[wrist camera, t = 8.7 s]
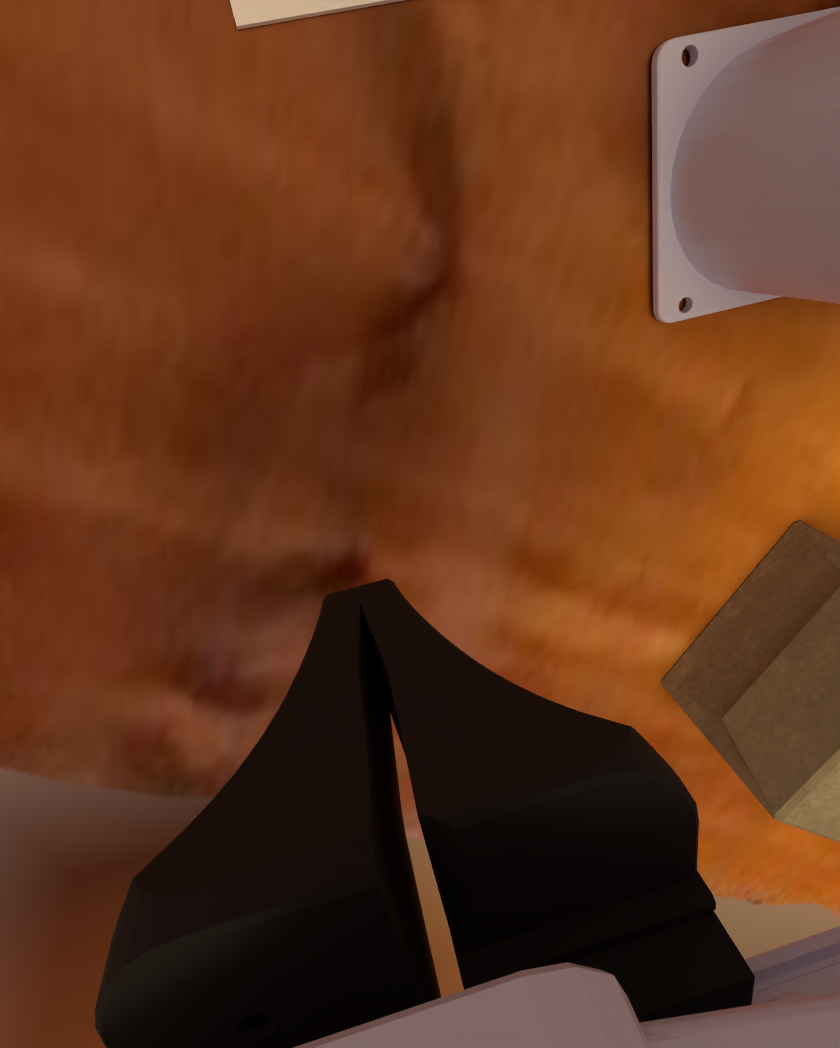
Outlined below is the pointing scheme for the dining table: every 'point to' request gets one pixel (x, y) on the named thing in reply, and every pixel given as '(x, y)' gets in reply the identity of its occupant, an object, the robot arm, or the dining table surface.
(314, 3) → the beige mat
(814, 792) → the tissue box
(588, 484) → the dining table surface
